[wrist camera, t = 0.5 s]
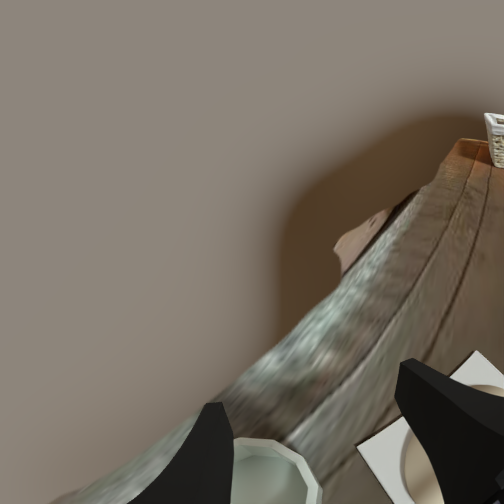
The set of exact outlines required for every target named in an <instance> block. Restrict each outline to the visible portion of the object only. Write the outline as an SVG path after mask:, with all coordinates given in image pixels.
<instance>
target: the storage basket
mask: <svg viewBox="0 0 504 504" xmlns="http://www.w3.org/2000/svg"><path fill="white" fill-rule="evenodd" d="M484 116H485V121H486V122H485V123H486V126H487V131H488V140H489V141H488V142H489V151H490V155H491V158H492V162H493V163H494V166H496V167H498V168H504V125H499V124H497V121H499V122H504V115H499V114H490V113H484Z"/></svg>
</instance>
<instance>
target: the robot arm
mask: <svg viewBox="0 0 504 504" xmlns="http://www.w3.org/2000/svg"><path fill="white" fill-rule="evenodd" d="M394 397H395V399H396V402H397V404H398V406H399V409H400V411H401V413H402V415H403V417H404V418H405V420H406V422H407V423H408V425H409V426H410V428H411V430H412V431H413V433H414V434H415V436H416V438H417V439H418V441H419V442H420V444H421V446H422V447H423V449H424V451H425V452H426V454H427V456H428V458H429V461H430V463H431V465H432V468H433V470H434V473H435V475H436V478H437V481H438V484H439V487H440V490H441V493H442V497H443V500H444V504H504V397H502V396H497V395H493V394H490V393H487V392H483V391H480V390H477V389H475V388H472V387H470V386H467V385H465V384H462V383H460V382H458V381H456V380H454V379H452V378H450V377H448V376H446V375H444V374H442V373H440V372H438V371H436V370H434V369H432V368H431V367H429V366H427V365H425V364H423V363H421V362H419V361H418V360H416V359H414V358H411V359H408V360H406V361H403V362H400V367H399V374H398V380H397V385H396V390H395V396H394ZM233 465H234V439H233V431H232V429H231V426H230V423H229V421H228V418H227V415H226V413H225V410H224V407H223V404H222V402H216V403H206V404H205V405H204V407H203V409H202V411H201V413H200V415H199V417H198V419H197V421H196V423H195V425H194V426H193V428H192V430H191V432H190V433H189V435H188V436H187V438H186V440H185V441H184V443H183V444H182V446H181V448H180V449H179V450H178V452H177V453H176V455H175V456H174V457H173V459H172V460H171V461H170V463H169V464H168V465H167V466H166V468H165V469H164V470H163V471H162V472H161V473H160V475H159V476H158V477H157V478H156V479H155V480H154V481H153V482H152V483H151V484H150V485H149V486H148V487H147V488H146V489H145V490H143V491H142V492H141V493H140V494H139V495H138V496H136V497H135V498H134V499H133V500H131V501H130V502H128V503H127V504H231V489H232V477H233Z"/></svg>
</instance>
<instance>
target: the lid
mask: <svg viewBox="0 0 504 504" xmlns="http://www.w3.org/2000/svg"><path fill="white" fill-rule="evenodd" d="M470 387H472V388H475V389H477V390H480V391H483V392H487V393H490V394H493V395H497V396H502V397H504V389H502V388H500V387H497V386H492V385H472V386H470ZM404 476H405V482H406V487H407V489H408V492H409V494H410V496H411V498H412V499H413V501H414V502H415V503H416V504H444V500H443V497H442V493H441V490H440V487H439V484H438V481H437V478H436V475H435V473H434V470H433V468H432V465H431V463H430V461H429V458H428V456H427V454H426V452H425V451H424V449H423V447H422V446H421V444H420V442H419V441H418V439H417V438H416V436H415V434H414V433H413V435H412V438H411V440H410V442H409V445H408V448H407V451H406V456H405V464H404Z"/></svg>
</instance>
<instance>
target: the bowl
mask: <svg viewBox="0 0 504 504" xmlns="http://www.w3.org/2000/svg"><path fill="white" fill-rule="evenodd" d="M322 492H323V489H322V488H321V486H320V484H319V482H318V480H317V478H316V477H315V475H314V473H313V471H312V469H311V467H310V466H309V464H308V463H307V462H306V460H305V459H304V458H303V456H301V455H299V454H297V453H295V452H294V451H292V450H290V449H288V448H287V447H285V446H283V445H282V444H280V443H278V442H277V441H275V440H269V439H254V438H243V437H239V438H236V439H234V465H233V477H232V489H231V504H321V502H322Z"/></svg>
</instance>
